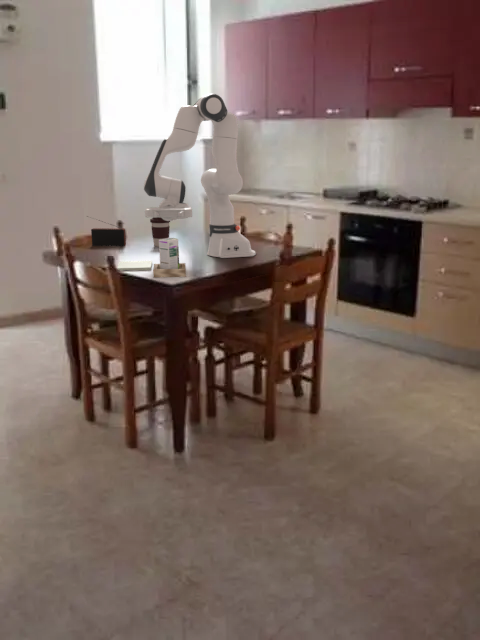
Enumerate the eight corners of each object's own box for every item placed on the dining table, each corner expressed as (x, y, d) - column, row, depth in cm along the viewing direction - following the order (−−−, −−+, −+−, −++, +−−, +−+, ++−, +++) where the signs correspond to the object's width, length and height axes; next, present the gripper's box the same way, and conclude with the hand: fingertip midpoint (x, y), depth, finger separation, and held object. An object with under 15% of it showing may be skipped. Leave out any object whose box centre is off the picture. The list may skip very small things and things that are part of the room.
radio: (126, 245, 366) (124, 215, 362) (124, 246, 363) (123, 216, 359) (90, 245, 367) (88, 215, 363) (88, 246, 365) (86, 216, 360)
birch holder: (185, 270, 306) (185, 263, 305) (185, 276, 294) (185, 269, 293) (154, 270, 305) (154, 263, 304) (153, 277, 293) (153, 270, 292)
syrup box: (169, 275, 295) (168, 240, 292) (159, 273, 299) (158, 238, 295) (179, 273, 300) (178, 238, 296) (170, 271, 303) (168, 237, 299)
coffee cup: (168, 243, 369) (167, 213, 365) (173, 246, 360) (172, 216, 356) (149, 244, 366) (148, 214, 362) (153, 248, 357) (152, 217, 353)
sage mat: (152, 263, 320) (152, 260, 320) (150, 270, 306) (150, 267, 306) (119, 264, 319) (119, 261, 318) (117, 270, 305) (117, 268, 305)
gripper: (144, 203, 319) (143, 207, 306) (191, 203, 321) (192, 207, 308) (145, 218, 321) (144, 222, 308) (191, 217, 323) (192, 222, 309)
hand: (168, 214), depth 308 cm, fingers open, 8 cm apart
